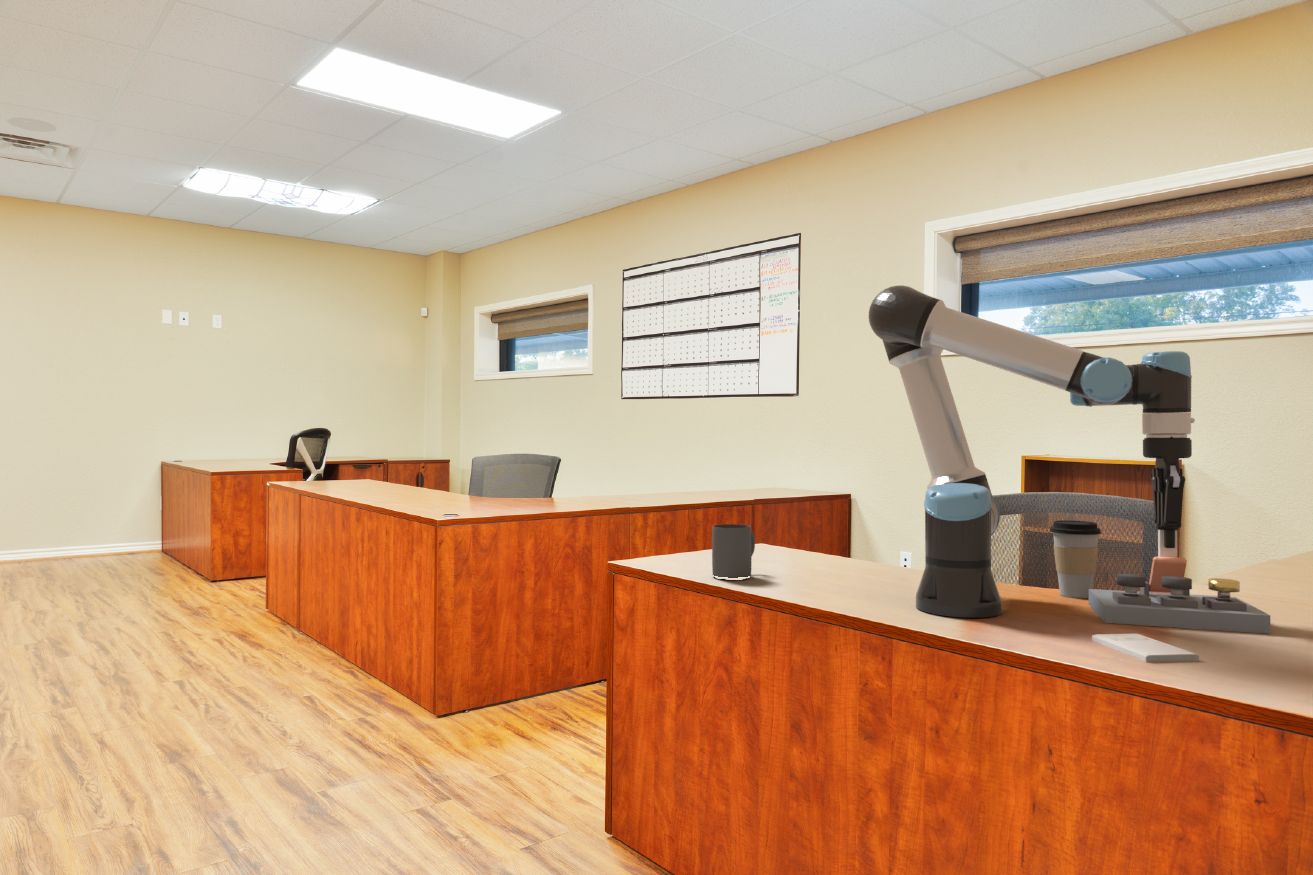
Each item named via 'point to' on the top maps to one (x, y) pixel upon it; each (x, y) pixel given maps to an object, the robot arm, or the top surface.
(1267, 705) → the top surface
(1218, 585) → the brass button
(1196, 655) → the external hard drive
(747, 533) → the mug
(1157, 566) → the paddle lever
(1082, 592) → the coffee cup
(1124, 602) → the control panel
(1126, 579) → the black button left
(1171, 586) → the black button mid
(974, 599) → the robot arm
